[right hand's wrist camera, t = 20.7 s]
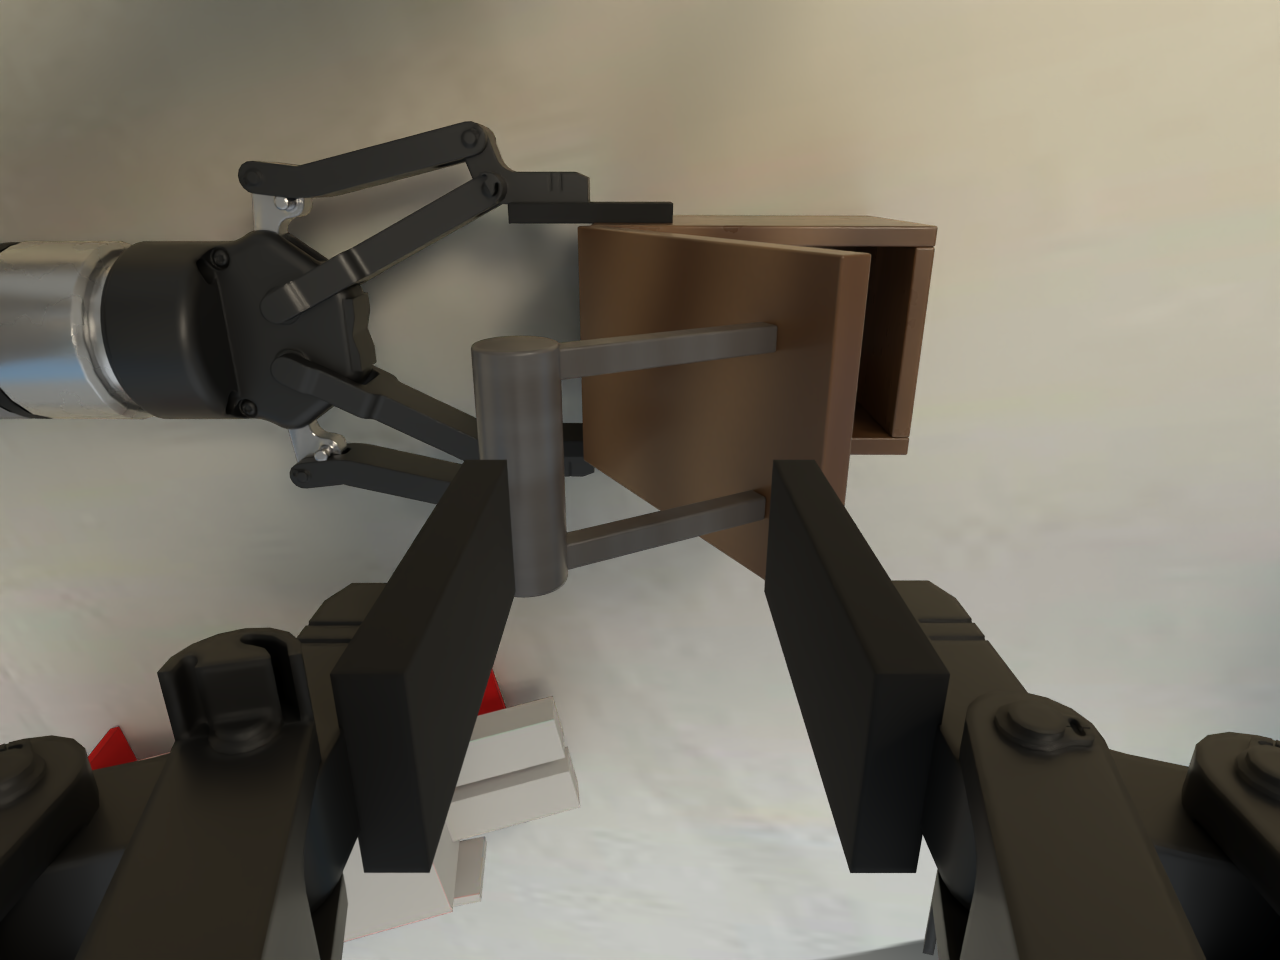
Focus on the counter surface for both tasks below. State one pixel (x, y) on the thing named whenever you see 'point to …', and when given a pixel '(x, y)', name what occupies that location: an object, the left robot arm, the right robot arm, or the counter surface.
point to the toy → (454, 812)
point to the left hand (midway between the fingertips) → (669, 331)
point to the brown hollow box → (889, 305)
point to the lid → (677, 393)
